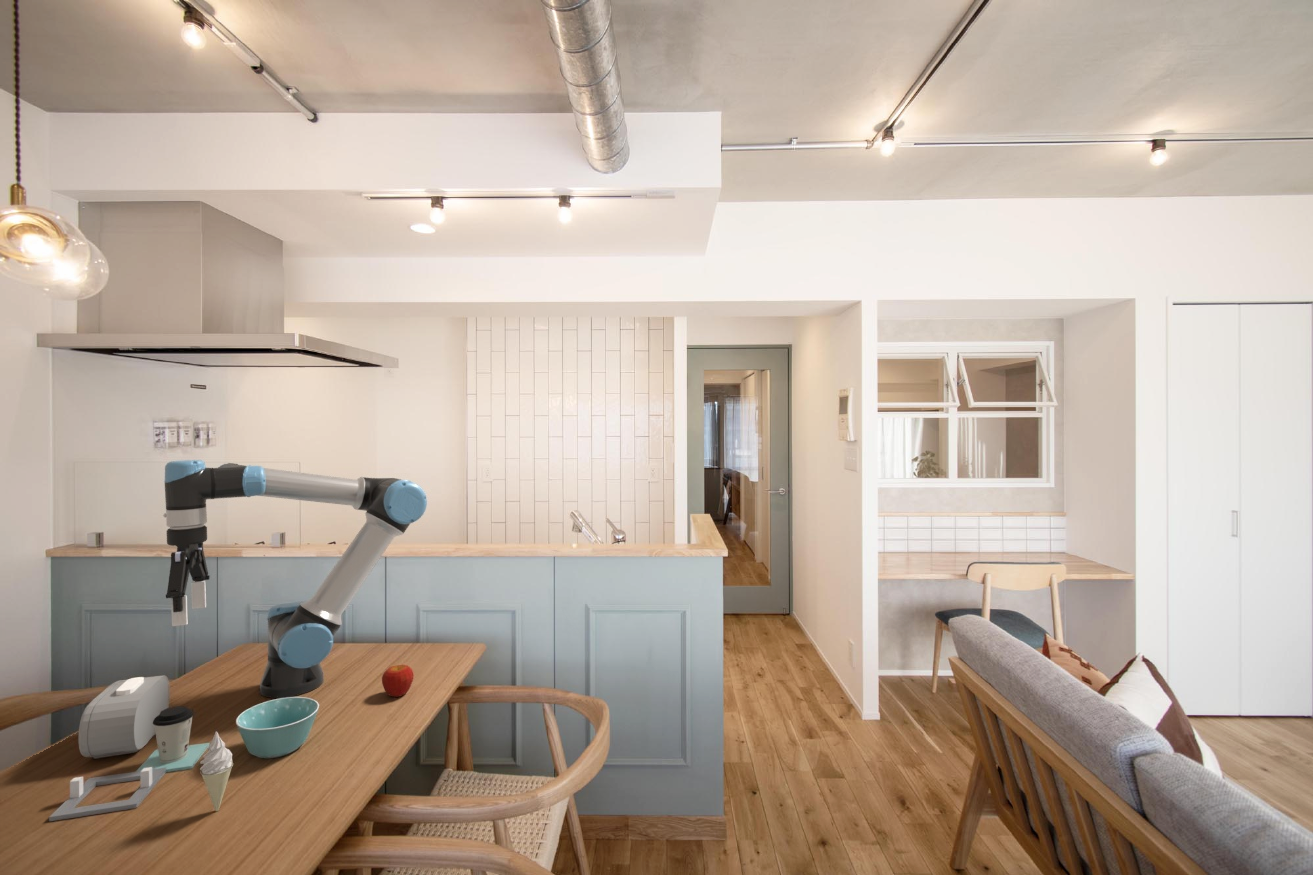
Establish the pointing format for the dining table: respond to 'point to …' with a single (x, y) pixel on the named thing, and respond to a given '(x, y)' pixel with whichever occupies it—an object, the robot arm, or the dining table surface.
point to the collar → (81, 790)
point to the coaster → (183, 764)
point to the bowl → (277, 725)
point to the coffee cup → (173, 733)
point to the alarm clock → (123, 716)
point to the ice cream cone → (216, 769)
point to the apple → (397, 680)
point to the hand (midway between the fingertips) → (189, 616)
